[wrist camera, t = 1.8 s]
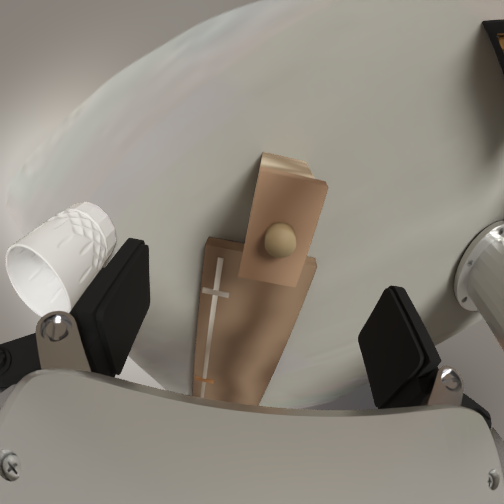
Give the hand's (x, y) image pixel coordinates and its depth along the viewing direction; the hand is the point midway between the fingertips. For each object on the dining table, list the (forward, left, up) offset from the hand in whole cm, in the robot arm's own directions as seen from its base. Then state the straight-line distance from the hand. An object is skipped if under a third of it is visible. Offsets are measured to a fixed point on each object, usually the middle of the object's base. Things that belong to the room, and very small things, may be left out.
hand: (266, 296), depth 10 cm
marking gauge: (-1, 0, -14) cm, 14 cm away
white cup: (+17, +8, -15) cm, 24 cm away
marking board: (-1, +20, -14) cm, 25 cm away
